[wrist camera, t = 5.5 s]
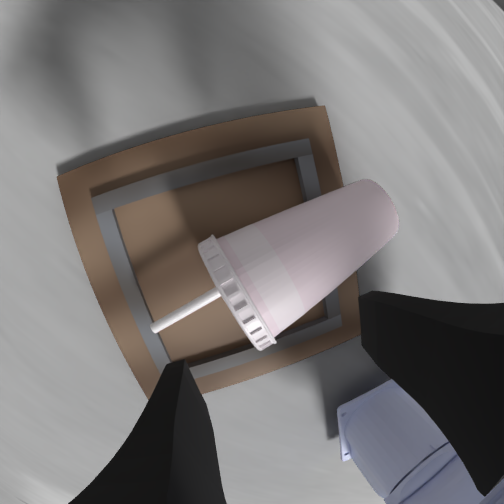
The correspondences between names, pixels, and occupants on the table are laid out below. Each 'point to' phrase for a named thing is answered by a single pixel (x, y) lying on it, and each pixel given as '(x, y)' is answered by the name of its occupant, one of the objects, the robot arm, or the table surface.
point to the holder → (194, 232)
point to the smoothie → (293, 259)
